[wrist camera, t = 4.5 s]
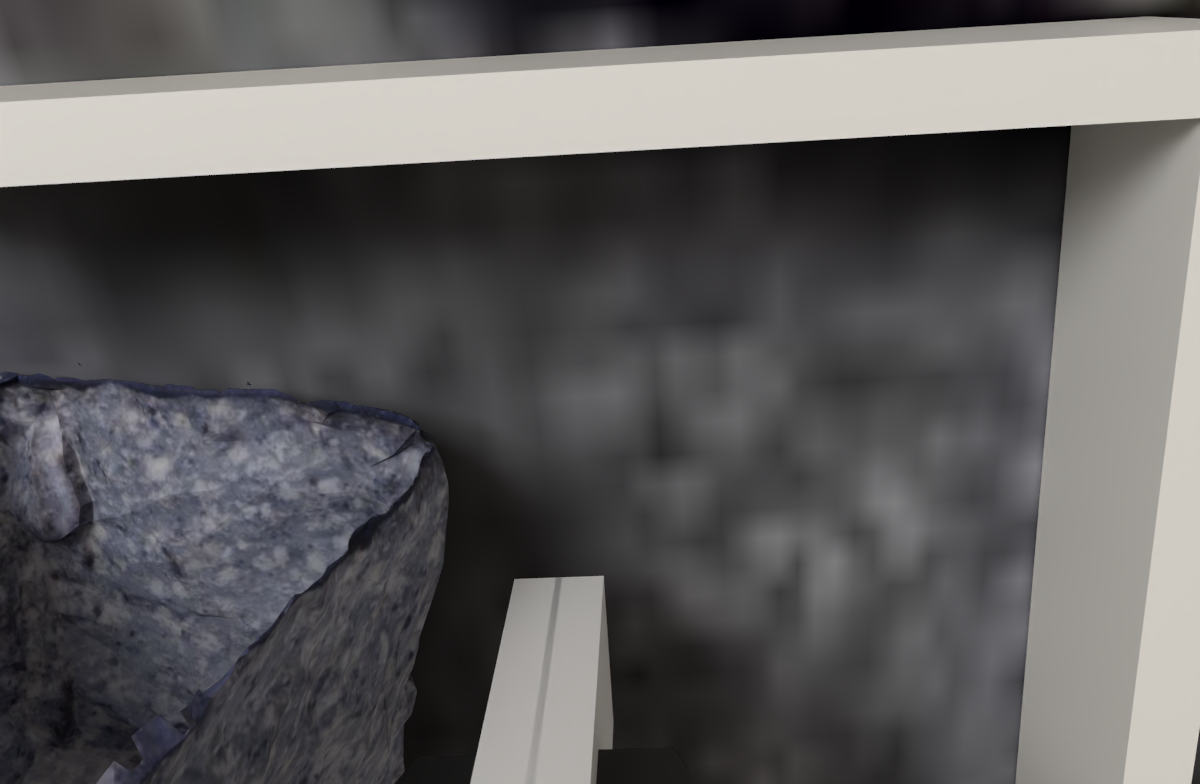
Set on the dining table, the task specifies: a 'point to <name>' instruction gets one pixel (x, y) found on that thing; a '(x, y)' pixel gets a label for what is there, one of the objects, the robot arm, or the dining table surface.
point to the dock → (820, 112)
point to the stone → (209, 584)
